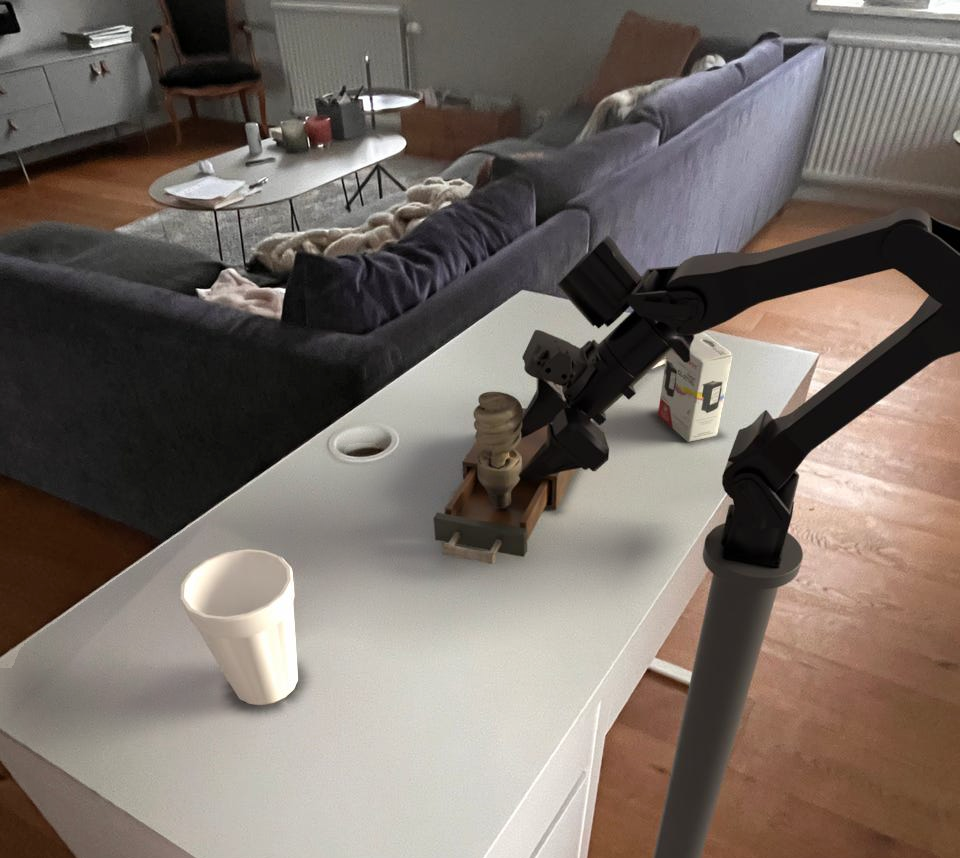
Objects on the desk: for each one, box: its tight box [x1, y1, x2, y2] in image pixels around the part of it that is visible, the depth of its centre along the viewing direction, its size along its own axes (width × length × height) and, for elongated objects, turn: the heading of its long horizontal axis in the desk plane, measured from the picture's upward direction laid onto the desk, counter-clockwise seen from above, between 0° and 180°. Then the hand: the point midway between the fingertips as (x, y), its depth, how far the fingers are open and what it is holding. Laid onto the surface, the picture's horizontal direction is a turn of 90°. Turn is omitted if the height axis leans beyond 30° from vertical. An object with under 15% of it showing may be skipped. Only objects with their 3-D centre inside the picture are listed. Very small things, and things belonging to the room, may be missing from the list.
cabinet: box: [461, 407, 577, 511], centre depth 107 cm, size 15×12×5 cm
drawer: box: [433, 467, 553, 565], centre depth 98 cm, size 18×11×3 cm, turn 160°
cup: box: [179, 548, 299, 706], centre depth 77 cm, size 10×10×13 cm
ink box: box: [657, 331, 733, 443], centre depth 112 cm, size 9×5×12 cm, turn 21°
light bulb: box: [473, 391, 523, 511], centre depth 94 cm, size 6×6×15 cm
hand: (518, 456), depth 94 cm, fingers open, 9 cm apart
